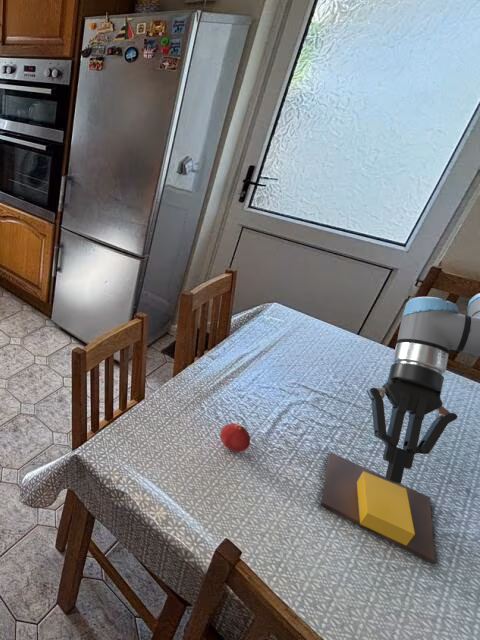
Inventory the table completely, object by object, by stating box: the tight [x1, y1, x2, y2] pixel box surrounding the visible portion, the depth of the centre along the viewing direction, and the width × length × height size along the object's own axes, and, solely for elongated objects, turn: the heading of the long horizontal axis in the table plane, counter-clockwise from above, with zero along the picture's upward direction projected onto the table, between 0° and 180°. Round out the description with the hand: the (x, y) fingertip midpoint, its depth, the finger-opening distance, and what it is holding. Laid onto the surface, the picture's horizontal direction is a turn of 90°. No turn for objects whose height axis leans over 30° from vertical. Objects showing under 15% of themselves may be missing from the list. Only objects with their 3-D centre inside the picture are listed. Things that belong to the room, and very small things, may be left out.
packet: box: [357, 471, 415, 545], centre depth 81 cm, size 6×4×11 cm
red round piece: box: [219, 422, 251, 452], centre depth 95 cm, size 6×6×8 cm
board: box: [320, 452, 436, 564], centre depth 84 cm, size 16×16×1 cm
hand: (392, 481), depth 81 cm, fingers closed
